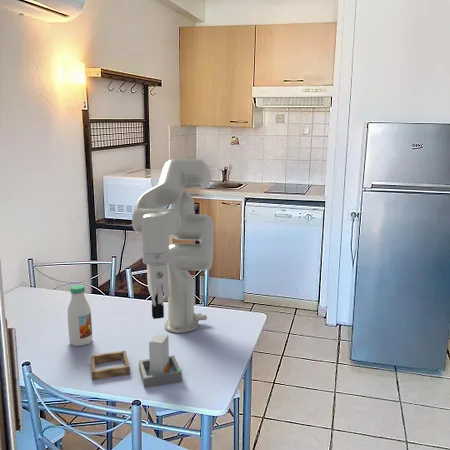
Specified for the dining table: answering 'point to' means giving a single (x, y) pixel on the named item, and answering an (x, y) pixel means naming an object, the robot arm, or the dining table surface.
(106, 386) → the dining table surface
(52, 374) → the dining table surface
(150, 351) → the skincare box
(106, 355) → the wooden picture frame
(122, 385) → the dining table surface
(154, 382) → the gray square frame
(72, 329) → the milk bottle
